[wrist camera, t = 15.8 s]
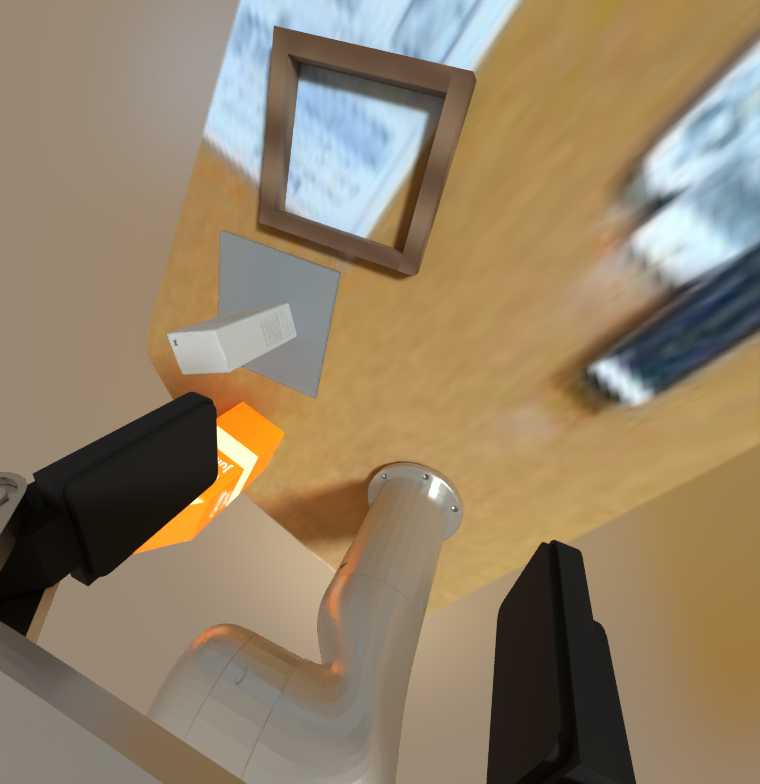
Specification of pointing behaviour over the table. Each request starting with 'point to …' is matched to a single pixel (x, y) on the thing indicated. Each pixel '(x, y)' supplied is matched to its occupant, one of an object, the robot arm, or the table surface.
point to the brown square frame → (375, 67)
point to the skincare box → (232, 339)
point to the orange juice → (225, 472)
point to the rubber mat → (281, 285)
